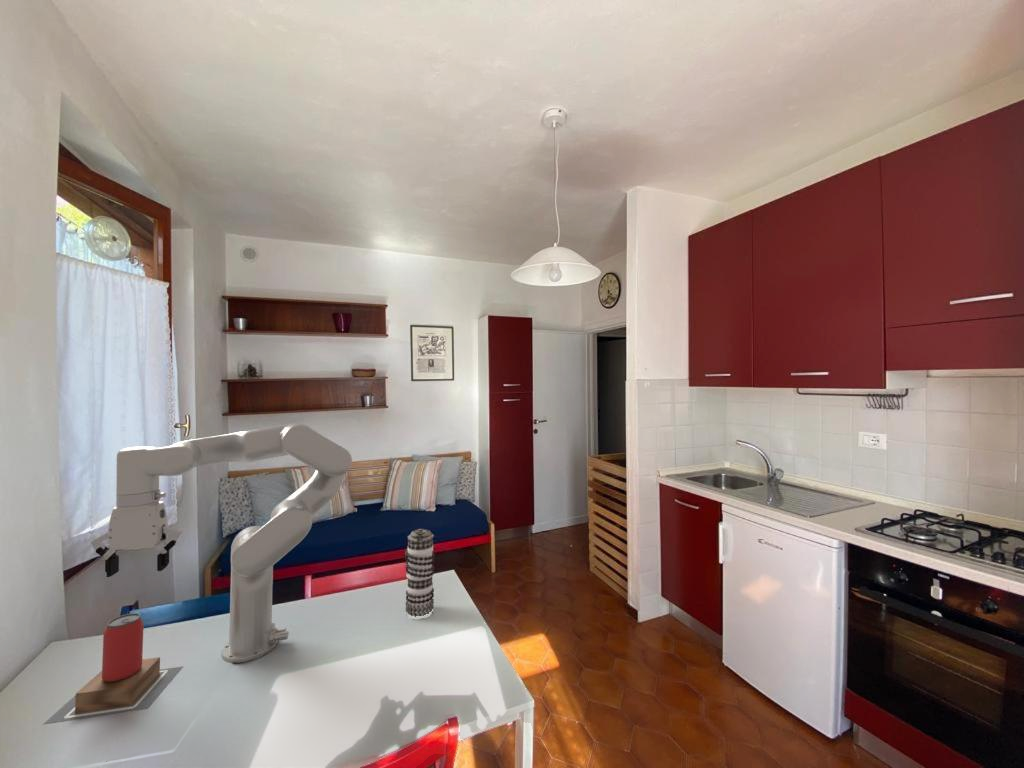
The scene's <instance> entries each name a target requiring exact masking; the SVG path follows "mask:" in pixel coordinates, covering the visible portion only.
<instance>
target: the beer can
mask: <svg viewBox="0 0 1024 768" xmlns="http://www.w3.org/2000/svg"><path fill="white" fill-rule="evenodd" d="M141 616H142V615H141V614H140V613H136V612H133V613H132V612H131V613H126V614H122V615H119V616H117V617H114V618H113V619H110V621H108V622H107V624H106V628H105V630H104V632H103V638H102V661H101V662H102V665H101V671H102V680H104V681H106V682H115V681H119V680H123V679H125V678H128V677H130V676H132V675H133V674H135V673H136V672H137V671H138V670H139V669H140V668H141V666H142V659H143V650H144V649H143V648H144V647H143V646H144V626H145V625H144V621H143V620H142V617H141Z"/></svg>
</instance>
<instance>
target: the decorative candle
mask: <svg viewBox="0 0 1024 768" xmlns="http://www.w3.org/2000/svg"><path fill="white" fill-rule="evenodd" d="M434 537H435V535H434V534H433V533H432V532H431V530H430V529H428V528H427V529H426V528H418V529H414V530H412V531H411V533H410V534H408V535H407V548H406V550H404V552H405V553H404V555H405V556H404V557H405V558H404V559H405V560H406V562H405V572H406V573H405V574H406V575H405V576H406V579H407V585H406V591H405V595H406V596H405V600H406V601H405V613H406V612H407V613H408V614H409V615H411V616H415V617H416V616H424V615H426V614H429V612H431V611H432V609H433V610H434V608H435V607H434V603H435V602H434V601H435V600H434V597H435V594H434V592H435V588H434V583H433V576H434V575H435V568H436V567H435V565H433V564H435V563H436V560H435V557H436V554H435V553H434V551H435V550H436V547H434V544H433V543H434V540H433V539H434Z"/></svg>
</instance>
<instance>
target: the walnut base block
mask: <svg viewBox="0 0 1024 768" xmlns="http://www.w3.org/2000/svg"><path fill="white" fill-rule="evenodd" d="M160 666H161V657H160V656H159V657H151V658H144V659H143V658H142V666H141V668H140V669H139V670H138V671H137V672H136V673H135V674H133V675H132V676H130V677H128V678H125V679H123V680H119V681H115V682H106V681H104V680H102V670H101V671H100V672H99V673H97V674H96V675H95V676H94V677H93V678H92V679H90V680H89V681H88V682H87V683H86V684H85V685H83V687H82V688H80V689H79V690H78V691H77V692H76V693H75V695H76V698H75V713H80V712H87V711H93V710H100V709H107V708H114V707H121V706H127V705H132V704H133V703H134V702H135V701H136V700H137V699H138V697H139V696H140V695H141V694H142V693H143V692H144V691H145V690H146V689H147V688H148V686H149V685H150V684H151V683H152V682H153V681H154V680H155V679H156V678H157V677H158V676H159V674H160Z"/></svg>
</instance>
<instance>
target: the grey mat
mask: <svg viewBox="0 0 1024 768" xmlns="http://www.w3.org/2000/svg"><path fill="white" fill-rule="evenodd" d="M183 668H184V666H175V667H170V668H161V669H160V674H159V676H158V677H157V678H156V679H155V680H154V681H153V682H152V683H151V684H150V685H149V686H148V688H147V689H146V690H145V691H144V692H143V693H142V694H141V695H140V696H139V697H138V699H137V700H136V701H135V702H134V703H133V704H132V705H127V706H121V707H114V708H107V709H100V710H93V711H87V712H80V713H75V698H76V694H75V695H74V696H73V697H72V698H71V699H69V700H68V701H67V702H66V703H65V704H64V705H63V706H62V707H60V708H59V709H58V710H57V711H56V712H55V713H54V714H53V715H51V716H50V717H49V718H48V719H47V720H46V721H45V722H44V723H43V725H48V724H49V725H50V724H55V723H62V722H68V721H75V720H81V719H89V718H95V717H96V718H97V717H102V716H107V715H115V714H120V713H129V712H134V711H140V710H141V711H142V710H148V709H149V708H150V707H151V706H152V704H153V703H154V702H155V701H156V699H158V697H159V696H160V695H161V694H162V693H163V692H164V690H165V689H166V688H167V687H168V685H169V684H171V682H172V681H173V680H174V678H175V677H177V675H178V674H179V673H180V671H181V670H182V669H183Z"/></svg>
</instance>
